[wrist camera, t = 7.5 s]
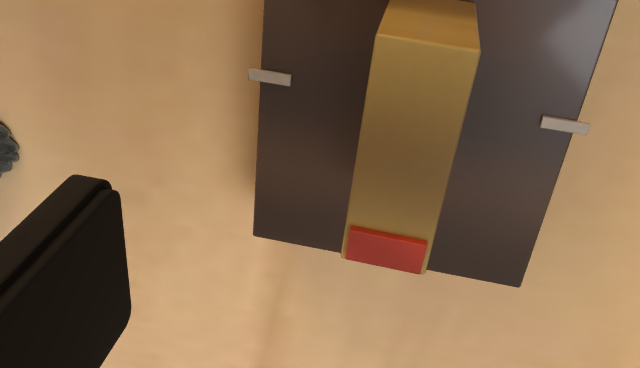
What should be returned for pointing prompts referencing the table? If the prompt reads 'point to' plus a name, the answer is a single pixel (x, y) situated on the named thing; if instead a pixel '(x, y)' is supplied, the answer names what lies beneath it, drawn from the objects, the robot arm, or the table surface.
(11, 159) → the eagle figurine
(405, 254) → the tan bar
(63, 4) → the table surface
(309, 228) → the panel
